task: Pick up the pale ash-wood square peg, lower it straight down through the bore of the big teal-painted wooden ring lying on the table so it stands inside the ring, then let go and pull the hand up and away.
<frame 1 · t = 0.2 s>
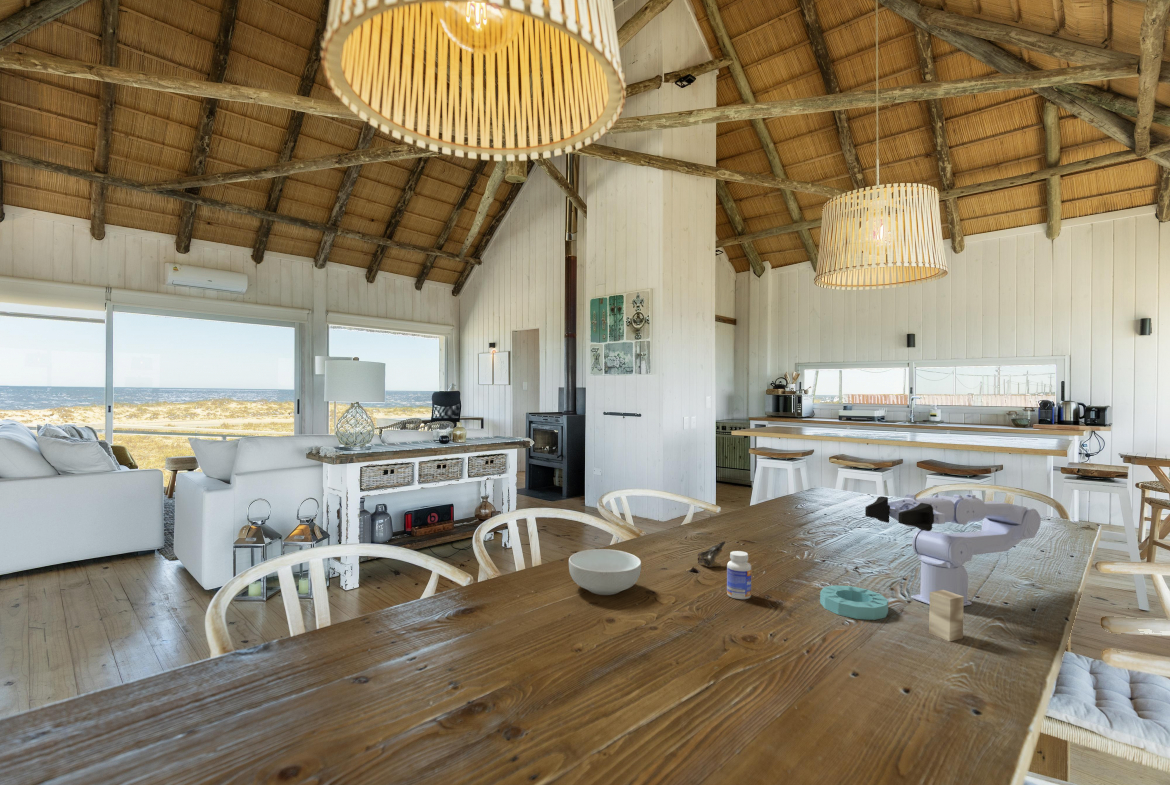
hand: (882, 514, 118), 21 cm above the table, tool horizontal, fingers open, 7 cm apart
bead ring: (853, 607, 122), on the table
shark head: (713, 567, 150), on the table
cereal bowl: (604, 590, 131), on the table
pill bottle: (738, 596, 128), on the table
ash peg: (945, 635, 109), on the table
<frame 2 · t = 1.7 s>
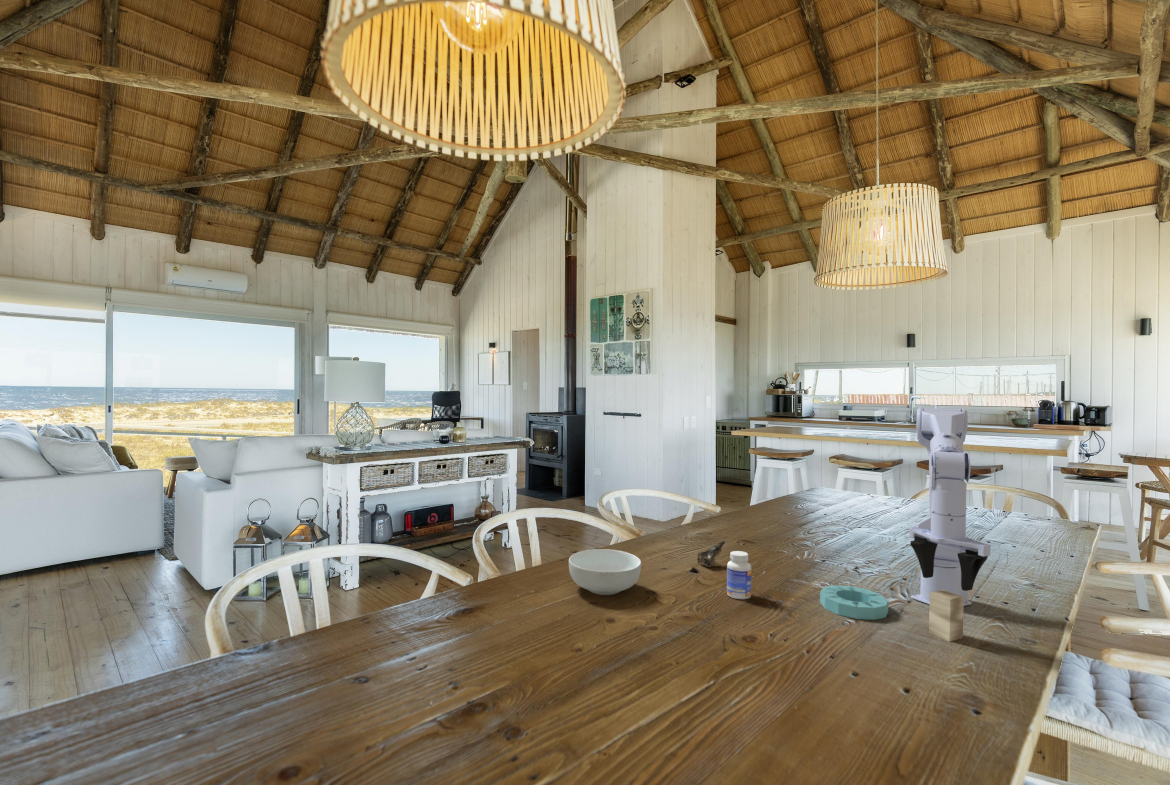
hand: (946, 583, 109), 10 cm above the table, tool pointing down, fingers open, 7 cm apart
nothing on the table moved.
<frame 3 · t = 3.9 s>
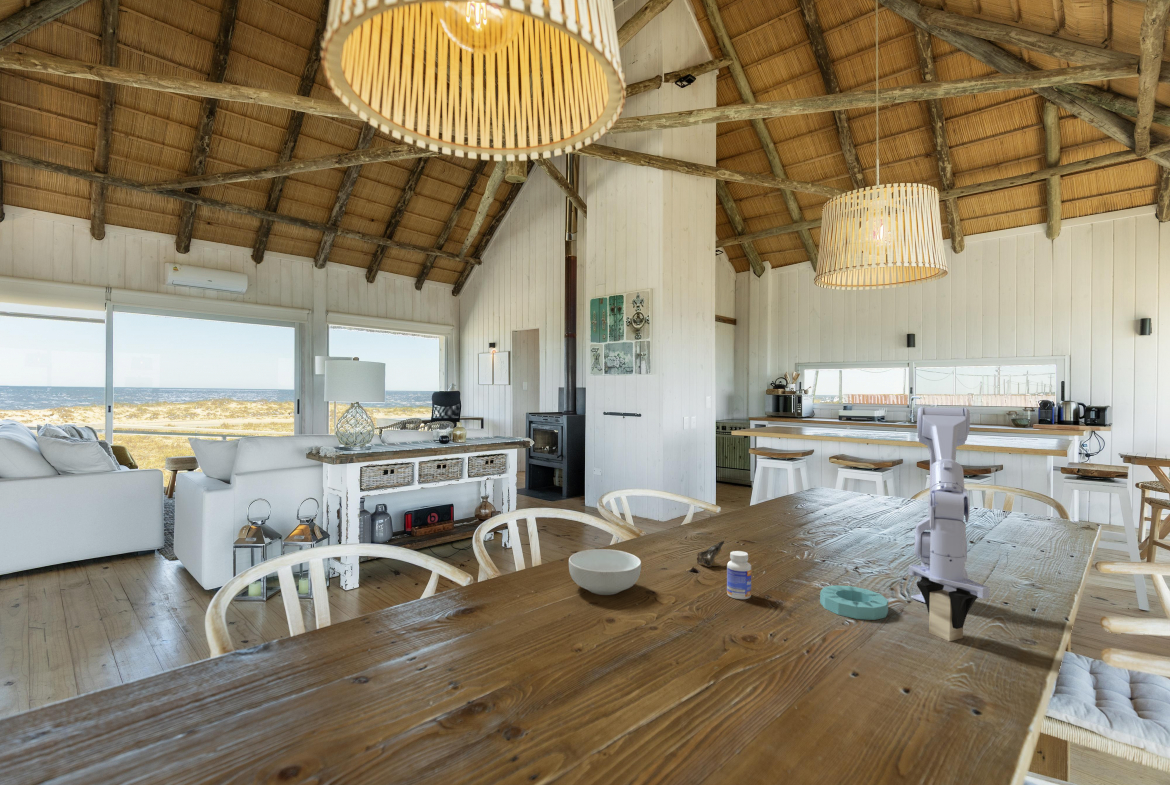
hand: (945, 622, 109), 2 cm above the table, tool pointing down, fingers closed on ash peg, 4 cm apart
ash peg: (945, 635, 109), on the table, touching gripper
everything else where it was.
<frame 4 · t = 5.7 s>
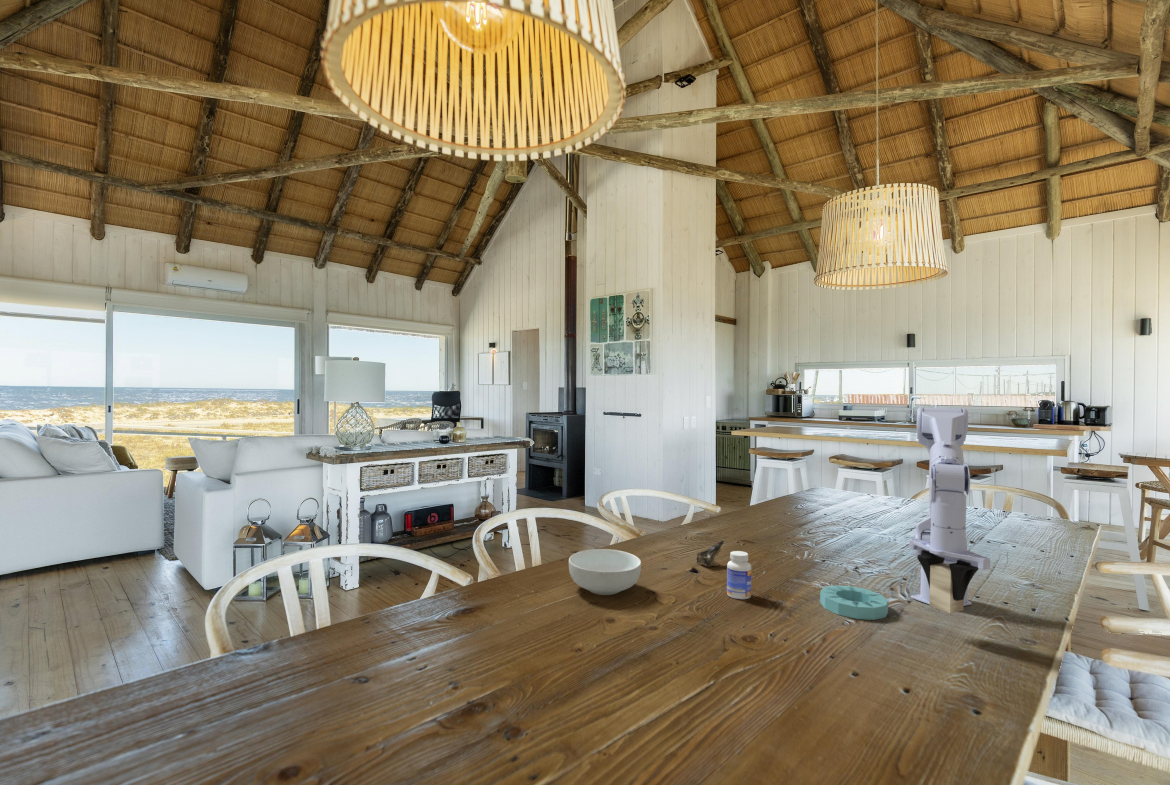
hand: (946, 595, 109), 8 cm above the table, tool pointing down, fingers closed on ash peg, 4 cm apart
ash peg: (946, 608, 109), point 5 cm above the table, touching gripper
everything else where it was.
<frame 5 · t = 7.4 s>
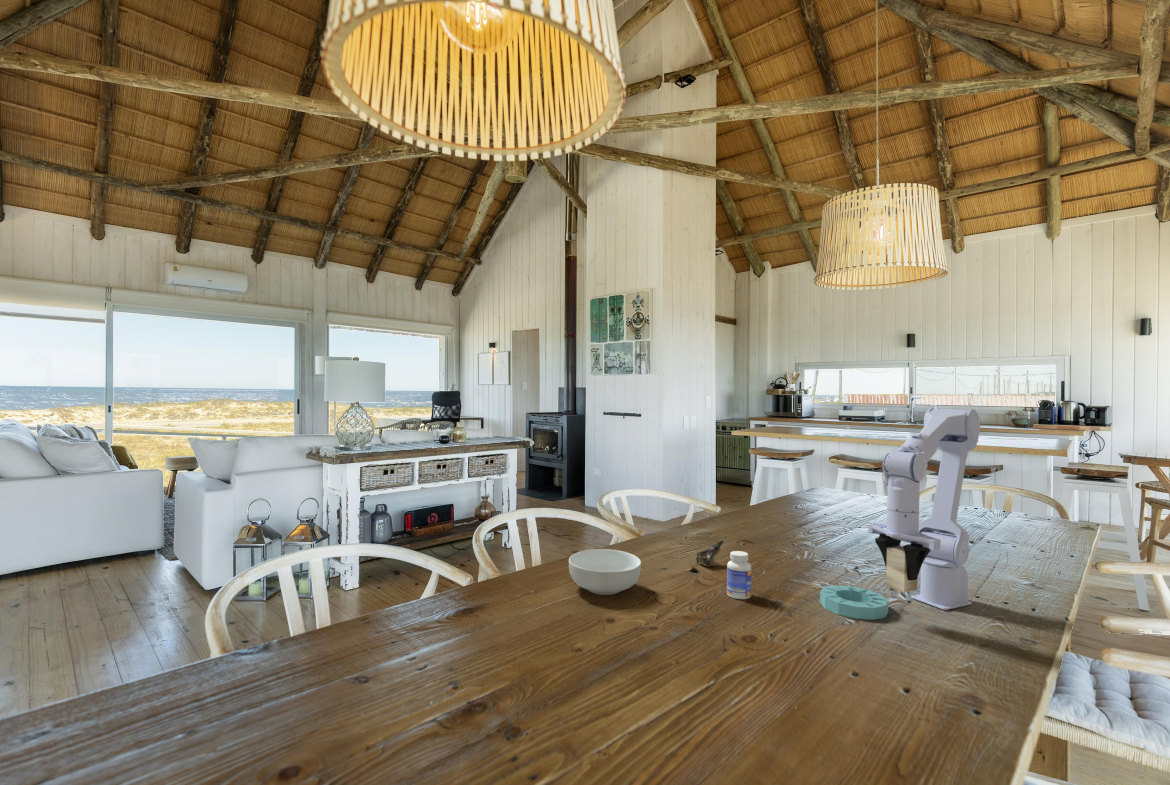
hand: (901, 576, 115), 9 cm above the table, tool pointing down, fingers closed on ash peg, 4 cm apart
ash peg: (901, 587, 115), point 7 cm above the table, touching gripper
everything else where it was.
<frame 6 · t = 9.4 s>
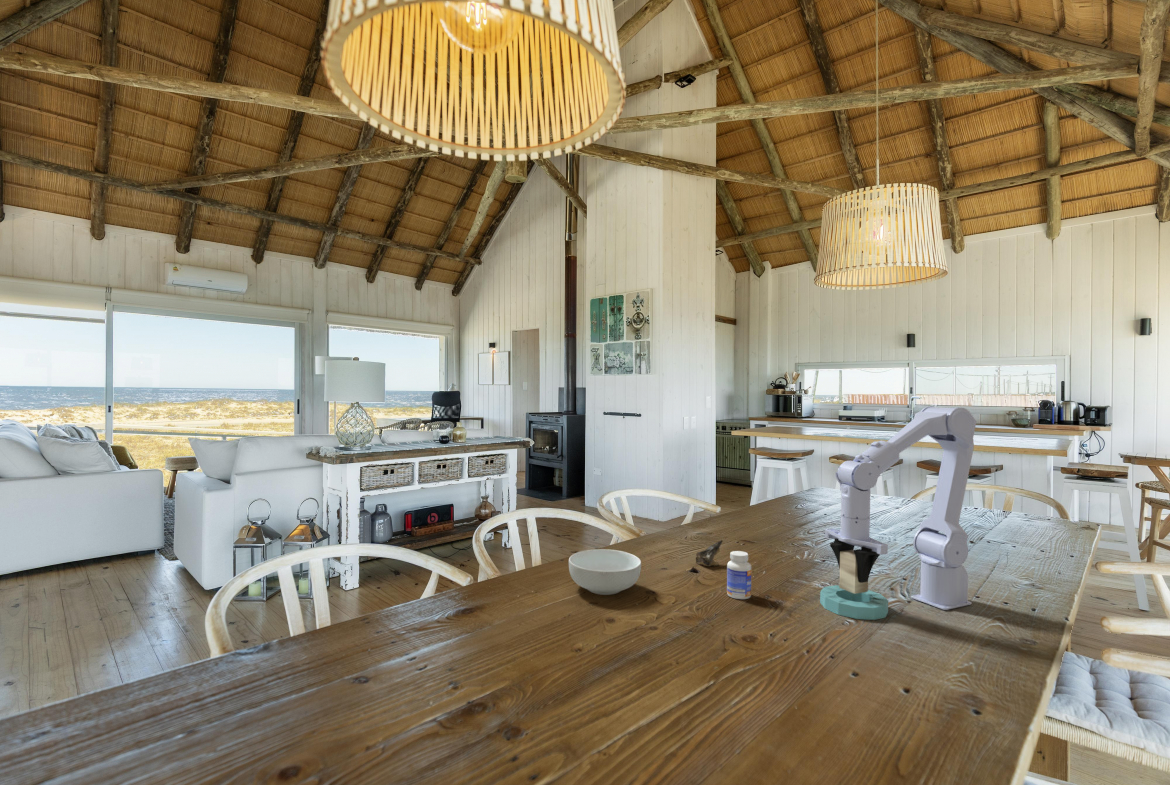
hand: (853, 578, 122), 6 cm above the table, tool pointing down, fingers closed on ash peg, 4 cm apart
ash peg: (853, 589, 122), point 4 cm above the table, touching gripper
everything else where it was.
when the fingers open (3 cm above the table, at t = 11.2 s): ash peg drops 1 cm, resting in bead ring.
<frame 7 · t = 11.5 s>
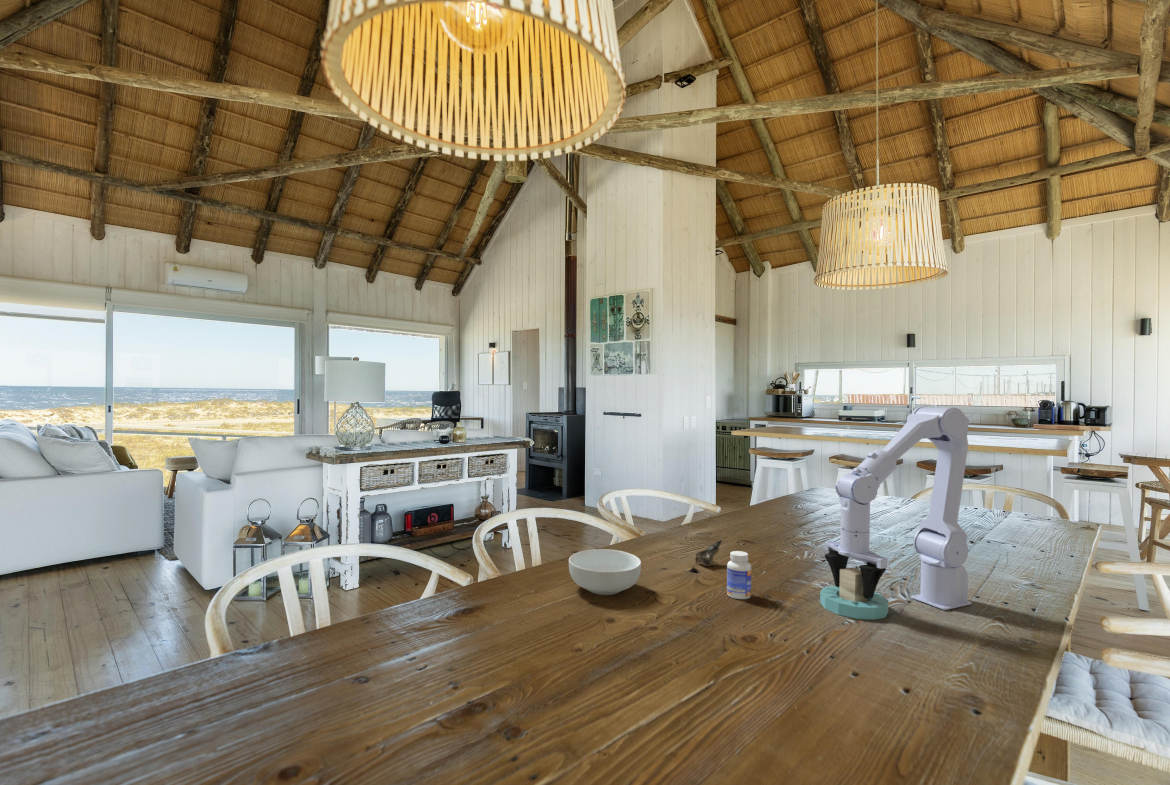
hand: (853, 591, 122), 3 cm above the table, tool pointing down, fingers open, 7 cm apart
ash peg: (853, 607, 122), resting in bead ring
everything else where it was.
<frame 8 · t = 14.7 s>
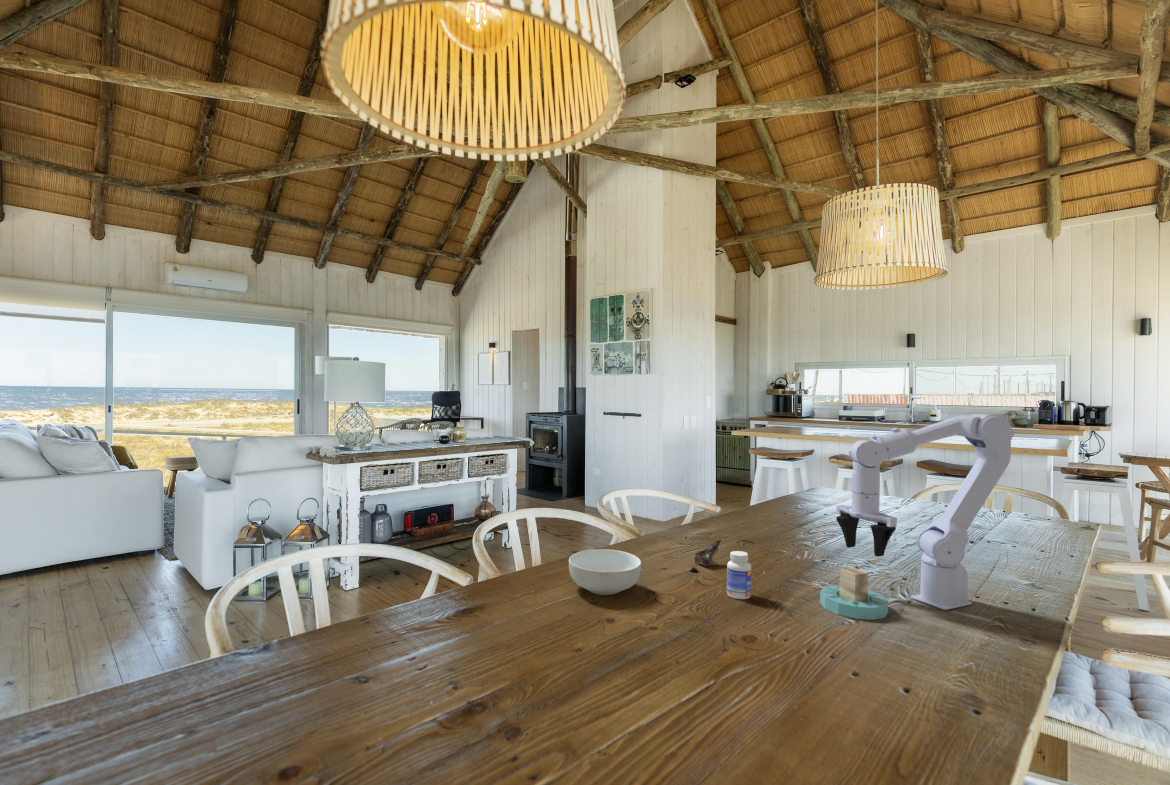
hand: (864, 551, 129), 10 cm above the table, tool pointing down, fingers open, 7 cm apart
at the end: ash peg 0.0 cm off-centre on the bead ring, point 0.0 cm above the bead ring's base; ash peg tilted 0°; the gripper is holding nothing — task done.
